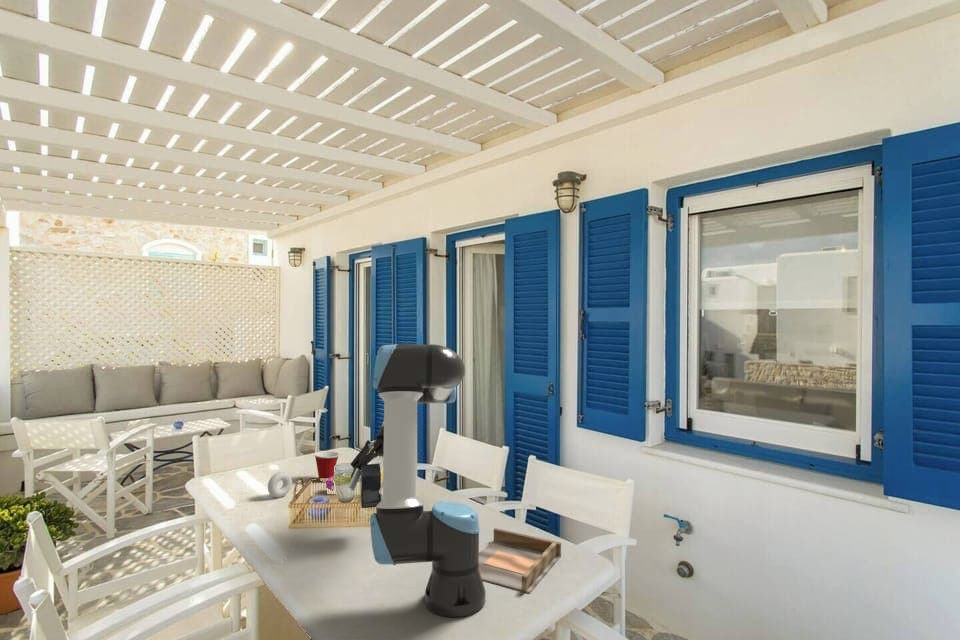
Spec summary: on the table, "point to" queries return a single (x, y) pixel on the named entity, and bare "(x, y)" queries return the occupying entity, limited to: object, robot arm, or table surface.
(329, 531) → the table surface
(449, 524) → the robot arm
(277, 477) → the donut
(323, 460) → the plastic cup
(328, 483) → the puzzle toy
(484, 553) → the wooden tray
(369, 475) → the small box
